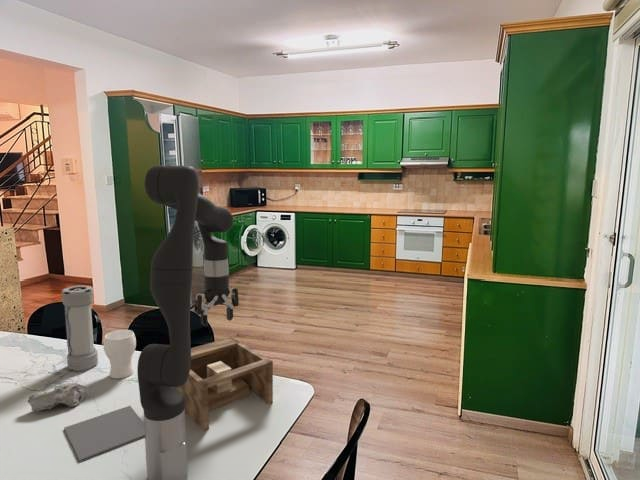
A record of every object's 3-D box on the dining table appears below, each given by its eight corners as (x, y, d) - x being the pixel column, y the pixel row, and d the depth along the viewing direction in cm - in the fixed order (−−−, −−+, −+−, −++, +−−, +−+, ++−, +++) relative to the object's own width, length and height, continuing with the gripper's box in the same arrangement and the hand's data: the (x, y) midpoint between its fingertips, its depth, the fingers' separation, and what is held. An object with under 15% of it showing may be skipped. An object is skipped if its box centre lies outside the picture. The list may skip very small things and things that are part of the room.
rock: (31, 421, 125) (29, 399, 124) (28, 410, 130) (26, 390, 129) (89, 403, 135) (88, 384, 134) (85, 394, 140) (83, 375, 139)
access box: (272, 402, 137) (272, 361, 135) (203, 430, 121) (202, 385, 119) (231, 373, 156) (231, 337, 154) (167, 394, 141) (166, 354, 138)
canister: (61, 369, 157) (54, 290, 152) (83, 358, 167) (78, 284, 162) (82, 373, 154) (76, 293, 149) (104, 361, 164) (99, 286, 159)
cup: (125, 382, 148) (122, 341, 146) (98, 378, 150) (95, 338, 148) (143, 368, 159) (141, 330, 156) (118, 365, 161) (116, 328, 158)
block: (231, 388, 137) (231, 368, 136) (217, 393, 134) (217, 373, 133) (221, 380, 142) (220, 361, 141) (207, 385, 139) (206, 365, 138)
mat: (151, 434, 119) (151, 432, 119) (79, 461, 108) (79, 459, 108) (130, 407, 133) (130, 405, 133) (64, 429, 121) (64, 427, 121)
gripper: (200, 278, 125) (202, 331, 127) (242, 272, 134) (243, 321, 137) (189, 274, 131) (191, 324, 133) (230, 267, 140) (231, 315, 142)
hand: (217, 322), depth 135 cm, fingers open, 8 cm apart
